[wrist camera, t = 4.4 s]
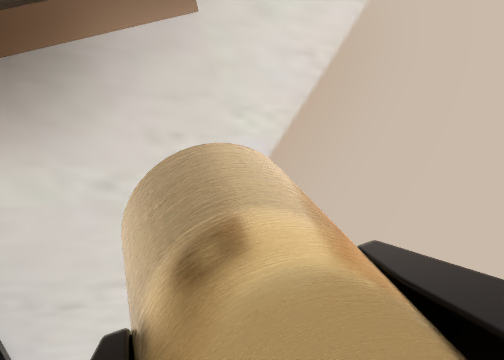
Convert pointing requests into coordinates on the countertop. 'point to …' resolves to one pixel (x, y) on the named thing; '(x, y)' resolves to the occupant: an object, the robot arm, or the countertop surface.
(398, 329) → the peg
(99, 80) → the countertop surface
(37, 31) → the jig
